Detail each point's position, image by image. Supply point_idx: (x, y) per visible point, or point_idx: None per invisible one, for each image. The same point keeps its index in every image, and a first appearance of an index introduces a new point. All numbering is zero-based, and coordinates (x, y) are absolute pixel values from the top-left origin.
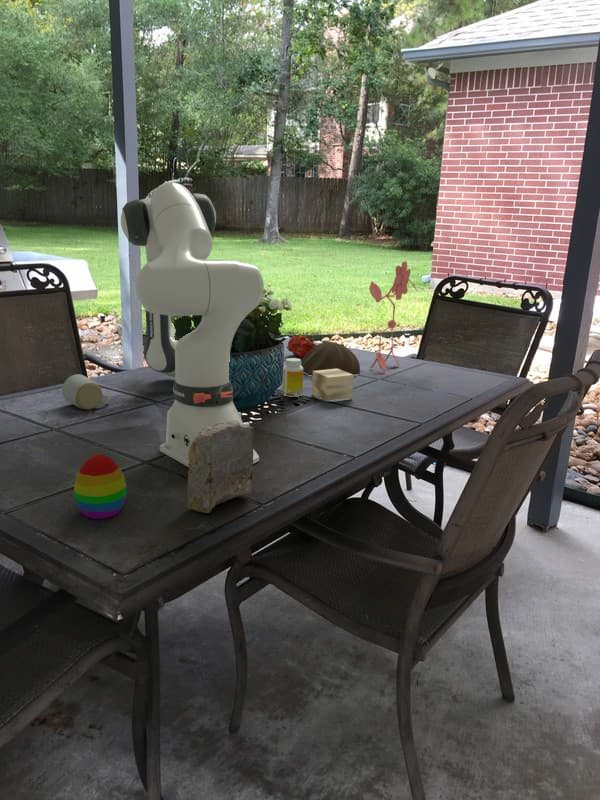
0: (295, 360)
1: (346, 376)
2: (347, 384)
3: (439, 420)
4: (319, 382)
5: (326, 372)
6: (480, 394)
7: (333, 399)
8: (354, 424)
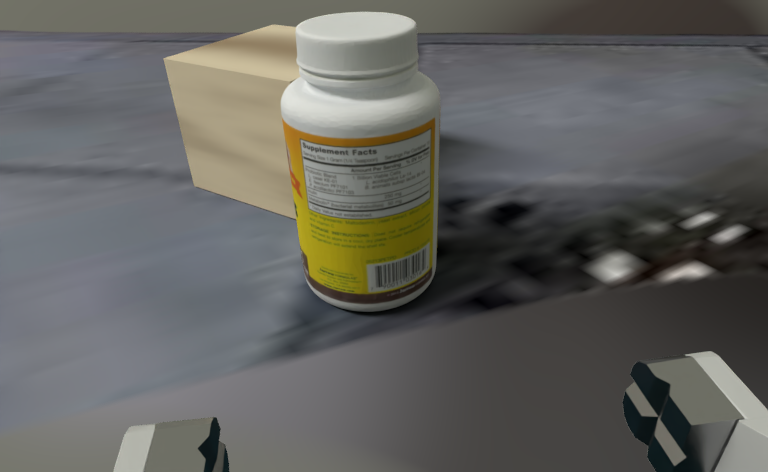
0: (378, 16)
1: None
2: None
3: None
4: None
5: (287, 57)
6: (82, 40)
7: None
8: (551, 83)
